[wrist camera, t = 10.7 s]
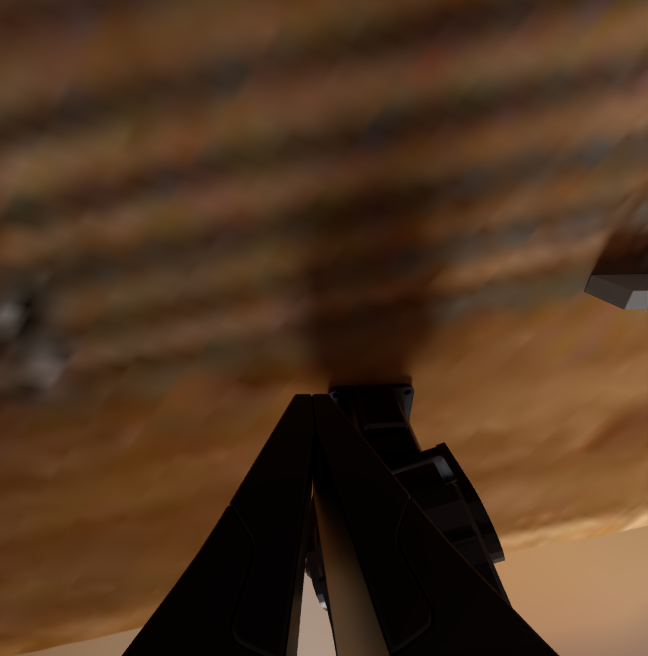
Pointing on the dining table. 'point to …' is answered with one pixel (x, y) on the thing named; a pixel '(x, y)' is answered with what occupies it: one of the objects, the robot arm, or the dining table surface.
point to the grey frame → (620, 290)
